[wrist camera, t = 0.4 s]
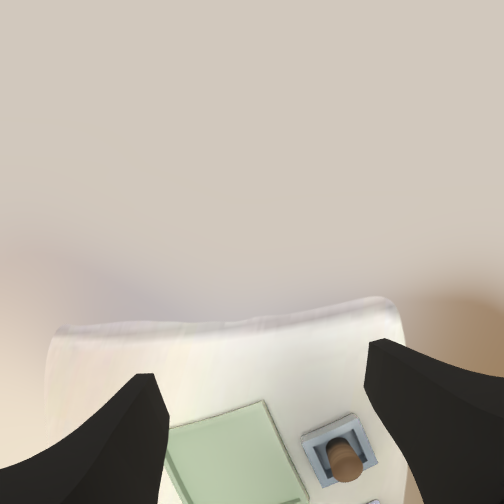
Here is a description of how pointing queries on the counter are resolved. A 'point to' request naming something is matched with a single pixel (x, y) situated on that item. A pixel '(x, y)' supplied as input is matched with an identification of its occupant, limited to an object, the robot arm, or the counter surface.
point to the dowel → (343, 460)
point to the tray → (233, 461)
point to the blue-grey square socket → (343, 428)
